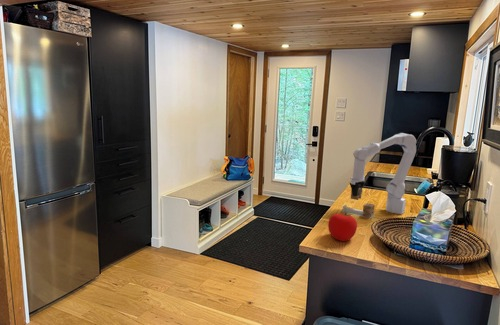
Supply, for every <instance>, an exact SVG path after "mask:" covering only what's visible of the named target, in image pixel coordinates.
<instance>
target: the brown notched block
mask: <svg viewBox="0 0 500 325" xmlns="http://www.w3.org/2000/svg"><path fill="white" fill-rule="evenodd" d="M362 194H363V188H361V187H359V190H358V193H357V196H353V195H352V189H351V190H350V199H351V200H356V201H359V200H360V199H362Z"/></svg>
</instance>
